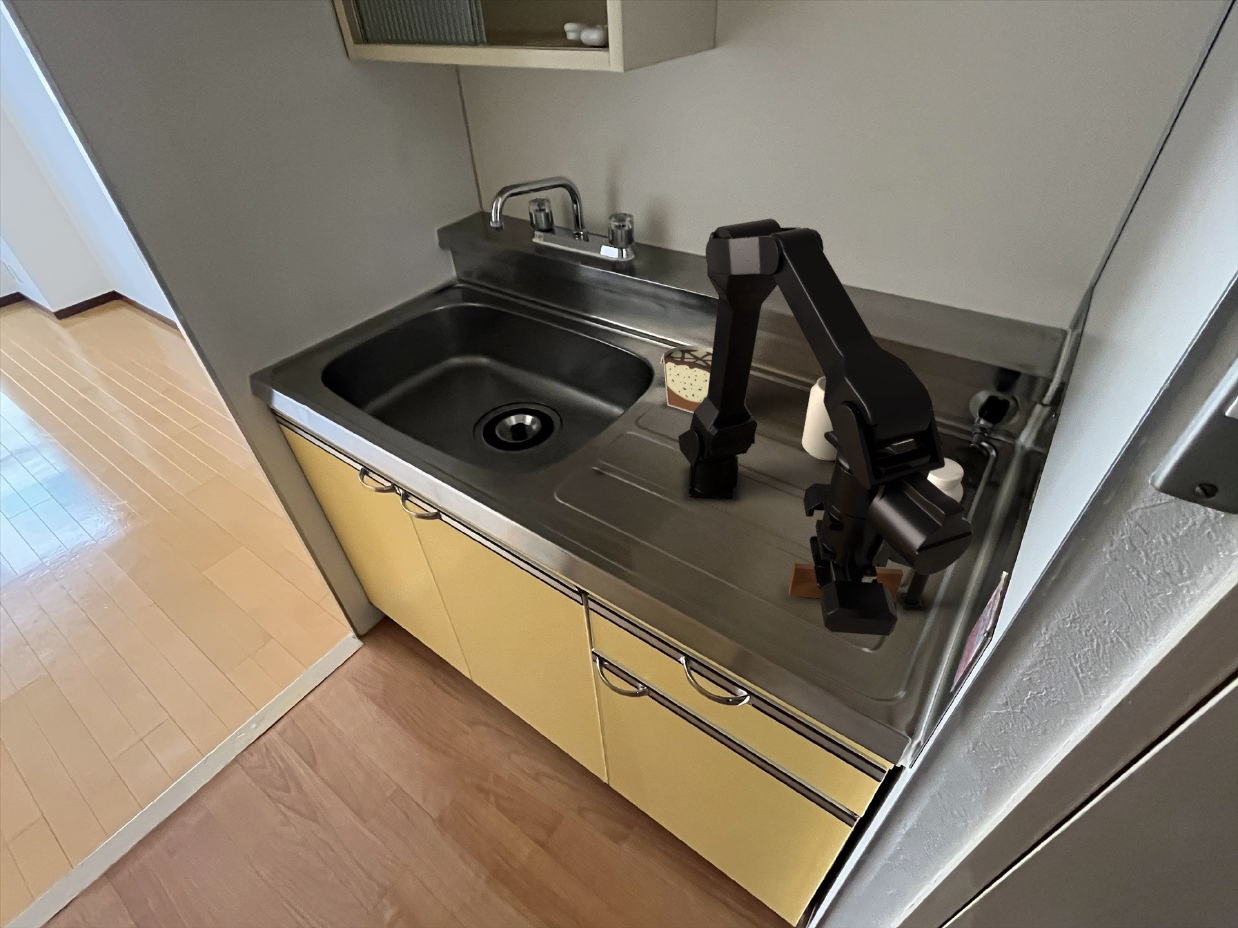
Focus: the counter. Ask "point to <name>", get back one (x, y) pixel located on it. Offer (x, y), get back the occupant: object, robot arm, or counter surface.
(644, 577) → the counter surface
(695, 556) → the counter surface
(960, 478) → the pill bottle
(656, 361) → the counter surface
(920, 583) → the yellow topped black post
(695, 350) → the food container
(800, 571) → the door
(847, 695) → the counter surface
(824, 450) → the can
